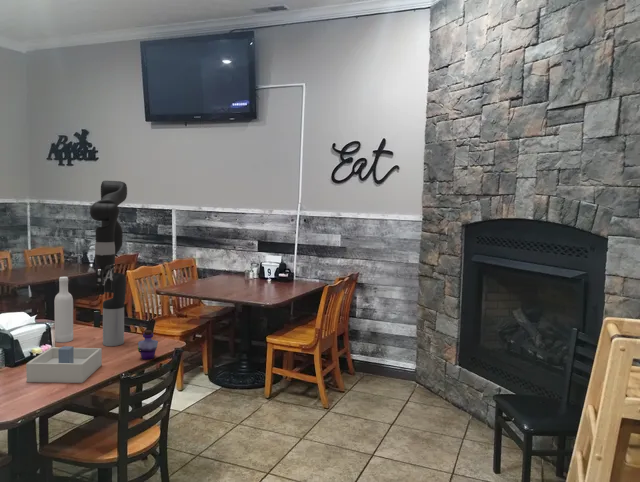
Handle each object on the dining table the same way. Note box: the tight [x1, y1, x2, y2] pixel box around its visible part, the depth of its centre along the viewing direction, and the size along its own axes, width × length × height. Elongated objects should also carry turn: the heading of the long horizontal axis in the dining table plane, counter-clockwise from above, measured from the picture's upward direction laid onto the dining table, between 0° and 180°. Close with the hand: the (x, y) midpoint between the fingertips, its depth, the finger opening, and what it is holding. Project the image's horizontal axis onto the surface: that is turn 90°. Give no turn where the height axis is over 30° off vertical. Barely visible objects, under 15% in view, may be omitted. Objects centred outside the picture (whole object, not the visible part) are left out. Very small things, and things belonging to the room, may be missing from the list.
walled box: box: [25, 347, 103, 384], centre depth 202 cm, size 20×20×7 cm
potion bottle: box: [137, 329, 159, 361], centre depth 223 cm, size 9×9×12 cm
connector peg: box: [58, 345, 75, 363], centre depth 202 cm, size 4×4×10 cm
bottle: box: [53, 276, 74, 343], centre depth 243 cm, size 8×8×30 cm
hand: (105, 292), depth 212 cm, fingers open, 8 cm apart
